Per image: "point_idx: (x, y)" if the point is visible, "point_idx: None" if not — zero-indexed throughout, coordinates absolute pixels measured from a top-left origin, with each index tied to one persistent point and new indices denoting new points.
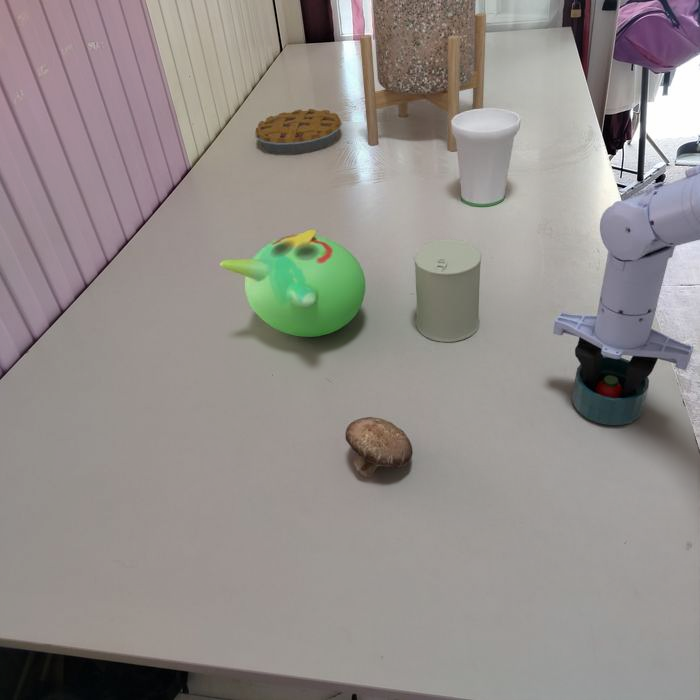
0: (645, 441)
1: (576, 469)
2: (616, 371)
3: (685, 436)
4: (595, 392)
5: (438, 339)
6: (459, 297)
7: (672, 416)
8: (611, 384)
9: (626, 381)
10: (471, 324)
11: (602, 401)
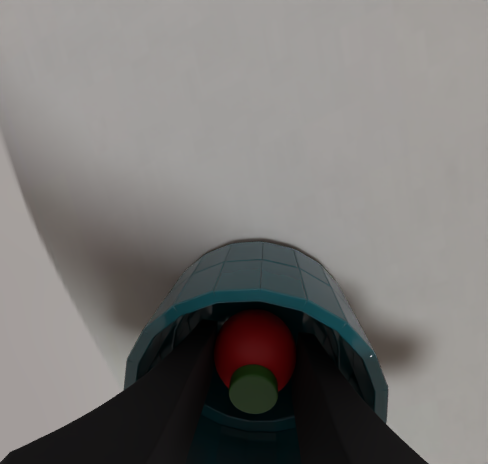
0: (139, 226)
1: (284, 27)
2: (250, 431)
3: (66, 276)
4: (292, 338)
5: None
6: None
7: (109, 328)
8: (246, 373)
9: (174, 394)
10: None
11: (259, 279)
